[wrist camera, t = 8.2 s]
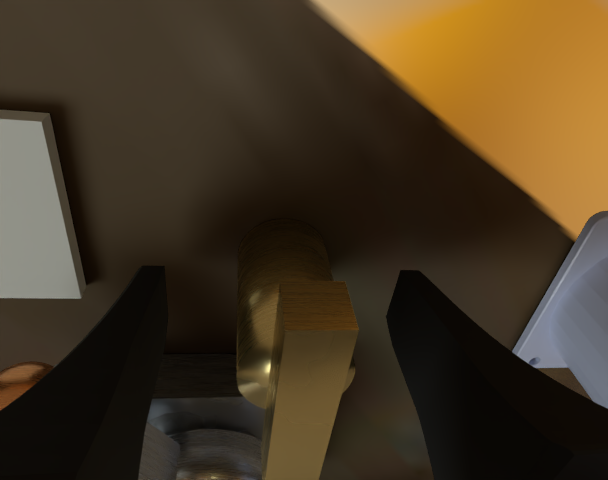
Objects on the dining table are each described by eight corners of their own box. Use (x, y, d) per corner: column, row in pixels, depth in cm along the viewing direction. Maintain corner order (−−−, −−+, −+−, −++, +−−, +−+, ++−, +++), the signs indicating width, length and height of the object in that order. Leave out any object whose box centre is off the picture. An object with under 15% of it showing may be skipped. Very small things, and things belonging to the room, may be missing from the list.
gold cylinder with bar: (340, 174, 14) (399, 329, 9) (313, 321, 17) (343, 492, 12) (241, 168, 13) (241, 330, 8) (234, 321, 17) (232, 499, 12)
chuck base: (319, 352, 18) (326, 394, 17) (295, 466, 24) (299, 506, 22) (87, 355, 17) (71, 401, 15) (115, 475, 22) (106, 519, 21)
